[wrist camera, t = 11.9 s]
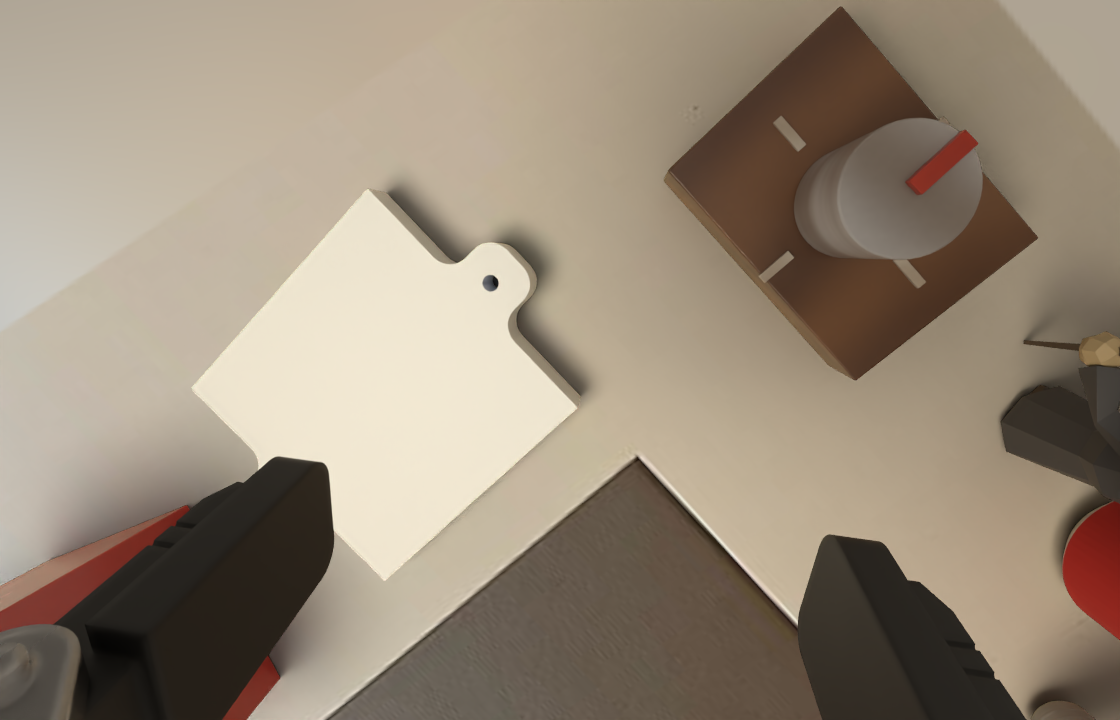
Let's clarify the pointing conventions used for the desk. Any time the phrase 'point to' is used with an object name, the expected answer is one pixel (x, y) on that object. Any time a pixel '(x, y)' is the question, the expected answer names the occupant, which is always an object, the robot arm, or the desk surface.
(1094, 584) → the beverage can
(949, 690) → the robot arm
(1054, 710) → the lightbulb
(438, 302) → the mounting plate
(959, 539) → the desk surface
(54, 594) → the toaster
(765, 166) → the dial panel
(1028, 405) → the wizard figurine
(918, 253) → the knob
